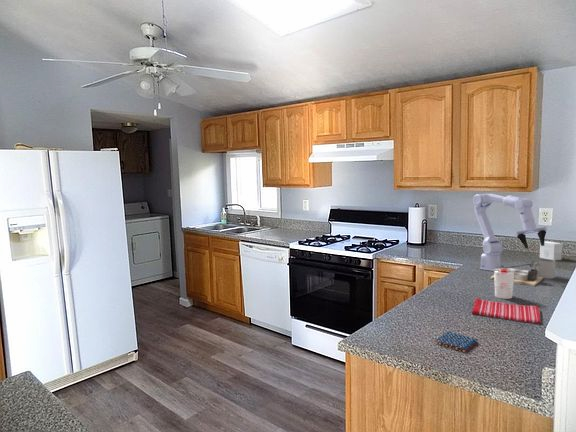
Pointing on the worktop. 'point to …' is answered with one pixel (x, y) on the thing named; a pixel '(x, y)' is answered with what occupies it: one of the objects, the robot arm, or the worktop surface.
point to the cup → (546, 268)
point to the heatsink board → (524, 277)
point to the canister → (503, 282)
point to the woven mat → (456, 341)
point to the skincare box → (551, 250)
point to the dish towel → (507, 311)
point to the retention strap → (519, 265)
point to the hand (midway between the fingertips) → (534, 246)
